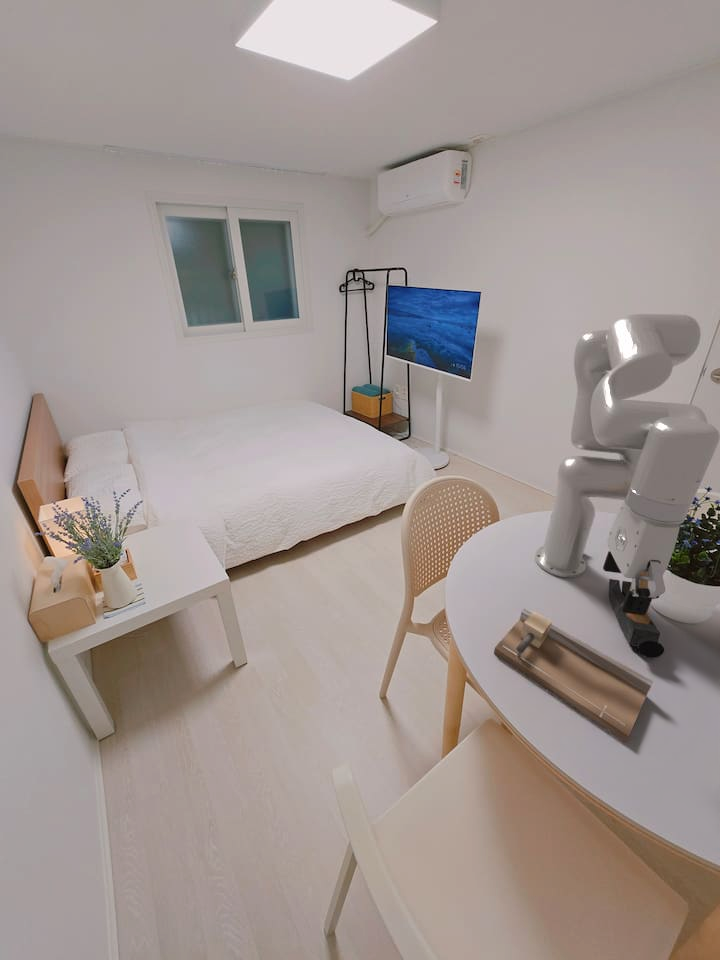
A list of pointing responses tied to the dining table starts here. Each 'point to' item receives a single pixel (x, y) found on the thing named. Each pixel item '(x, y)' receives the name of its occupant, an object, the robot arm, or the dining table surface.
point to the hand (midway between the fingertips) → (622, 590)
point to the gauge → (534, 632)
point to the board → (580, 676)
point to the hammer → (635, 620)
